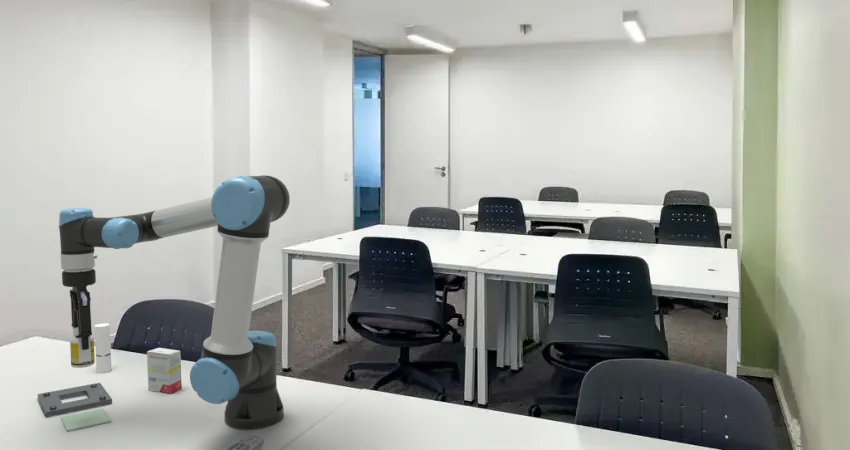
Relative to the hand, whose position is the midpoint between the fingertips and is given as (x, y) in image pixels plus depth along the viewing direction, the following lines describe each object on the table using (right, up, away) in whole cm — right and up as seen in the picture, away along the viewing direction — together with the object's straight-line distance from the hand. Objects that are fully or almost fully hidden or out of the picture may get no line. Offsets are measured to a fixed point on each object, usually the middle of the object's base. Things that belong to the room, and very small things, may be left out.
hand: (83, 358), depth 165 cm
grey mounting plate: (-10, -15, +14) cm, 23 cm away
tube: (-14, -13, +40) cm, 44 cm away
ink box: (+11, -15, +24) cm, 30 cm away
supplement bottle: (0, -2, 0) cm, 2 cm away
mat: (0, -17, +2) cm, 17 cm away
